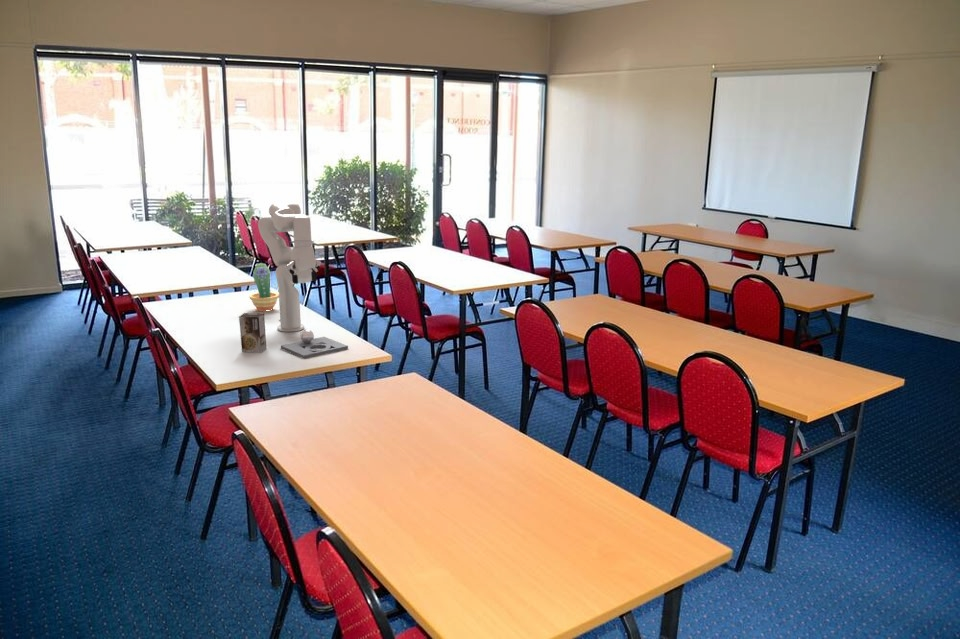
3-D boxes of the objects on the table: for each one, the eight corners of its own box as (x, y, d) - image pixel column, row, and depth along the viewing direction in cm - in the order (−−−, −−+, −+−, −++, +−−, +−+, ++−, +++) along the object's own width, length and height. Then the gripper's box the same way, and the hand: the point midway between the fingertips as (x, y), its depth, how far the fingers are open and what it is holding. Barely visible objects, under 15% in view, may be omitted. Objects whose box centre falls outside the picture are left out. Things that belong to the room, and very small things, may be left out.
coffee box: (267, 348, 323) (264, 313, 319) (261, 353, 317) (259, 316, 313) (247, 347, 324) (244, 312, 320) (241, 352, 318) (238, 316, 314)
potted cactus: (244, 311, 388) (240, 265, 382) (260, 305, 403) (257, 260, 396) (269, 314, 384) (266, 267, 378) (285, 307, 398) (283, 262, 392)
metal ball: (297, 342, 328) (297, 329, 327) (309, 340, 332) (309, 327, 330) (304, 345, 324) (304, 332, 322) (316, 342, 328) (316, 330, 326)
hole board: (280, 348, 324) (280, 345, 323) (324, 339, 338) (324, 336, 338) (303, 358, 310) (303, 355, 309) (348, 349, 324) (348, 345, 324)
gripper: (315, 241, 334) (316, 278, 338) (281, 245, 322) (283, 283, 326) (324, 243, 329) (326, 280, 333) (290, 246, 317) (292, 285, 321)
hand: (304, 282), depth 330 cm, fingers open, 9 cm apart
